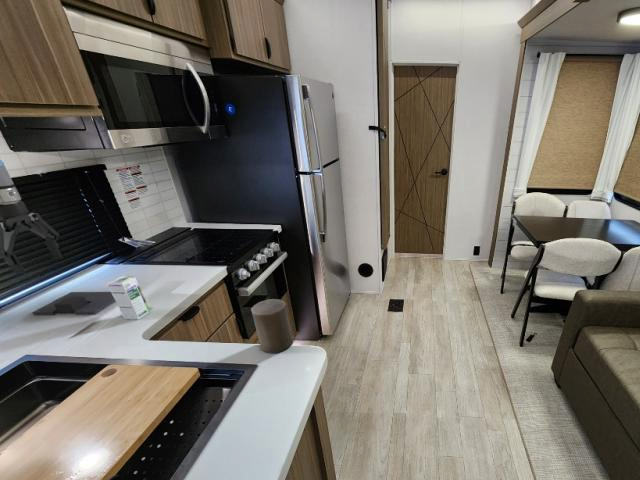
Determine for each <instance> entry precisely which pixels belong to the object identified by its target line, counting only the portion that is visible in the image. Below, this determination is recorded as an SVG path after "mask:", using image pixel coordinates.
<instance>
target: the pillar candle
mask: <svg viewBox="0 0 640 480" xmlns="http://www.w3.org/2000/svg"><path fill="white" fill-rule="evenodd" d="M250 310H251V314H252V319H253V323H254V326H255V330H256V332H257V338H258V341H259V346H260V348H261V350H262V352H264V351H265V352H264V353H267V354H279V353H281V352H285V351H287V350H288V349H290V348H291V347H292V345H293V343H294V338H293V333H292V330H291V328H292V327H291V323H290V320H289V315H288V310H287V305H286V302H285V301H284V300H282V299H278V298H271V299H270V298H269V299H265V300H262V301H259V302H257V303H255V304H254V305H253V306H252V307H251V308H250ZM290 346H291V347H290ZM278 352H279V353H278Z"/></svg>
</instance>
